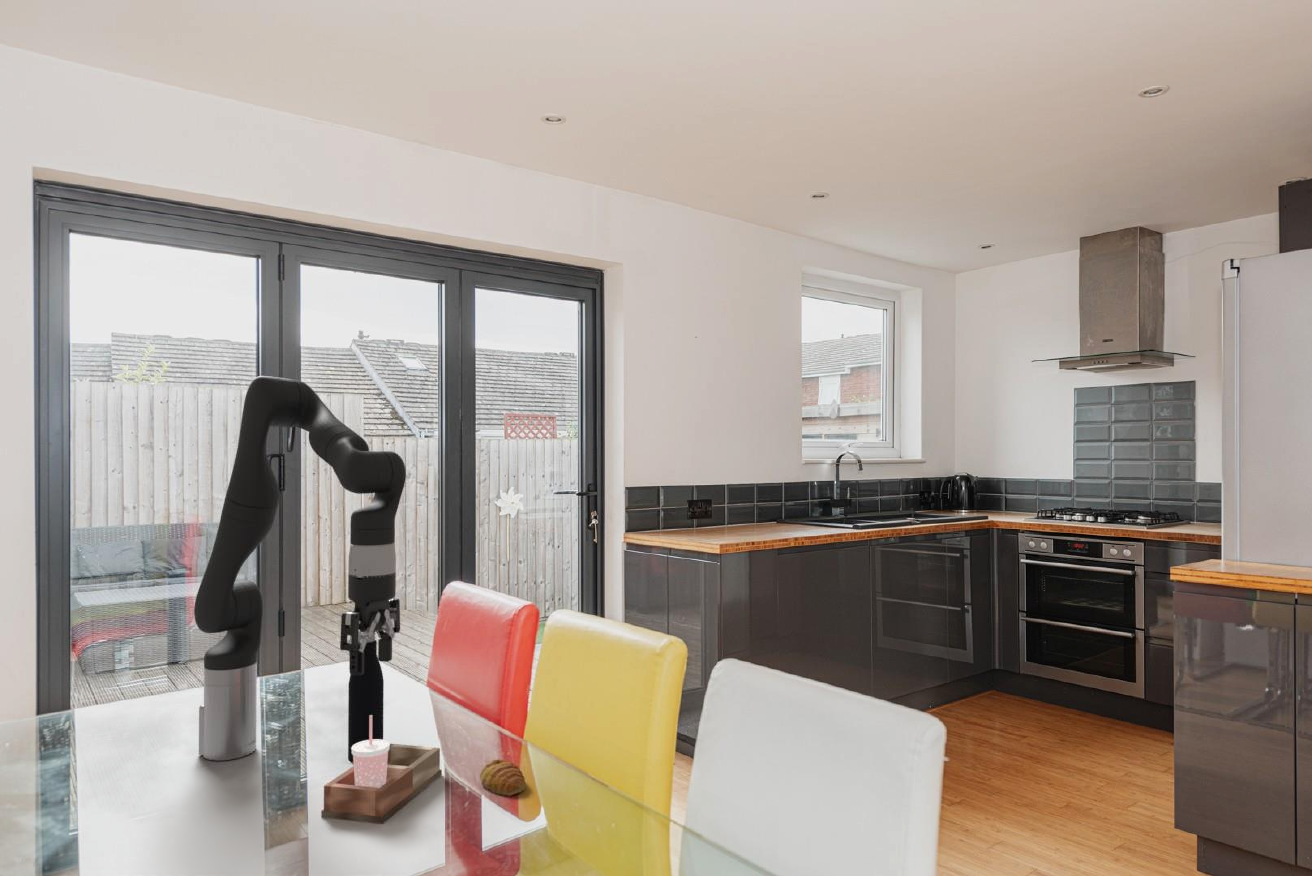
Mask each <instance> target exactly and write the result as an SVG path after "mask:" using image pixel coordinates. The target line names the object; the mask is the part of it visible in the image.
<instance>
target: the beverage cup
mask: <svg viewBox="0 0 1312 876" xmlns="http://www.w3.org/2000/svg"><path fill="white" fill-rule="evenodd" d="M390 744H391V743H390V741H389V740H385V739H383V740H382V739H372V715H369V740H365V741H361V742H358V743H356V744H354V745H353V746H352V748H351V750H352V752H351V753H352V754H353V761H354V762H353V766H354V778H355V785H356V786H366V787H375V788H380V787H381V786H383V785H384V784H385V783H386V775H387V760H388V751H389V749H390V747H389V746H390Z"/></svg>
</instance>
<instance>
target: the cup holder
mask: <svg viewBox="0 0 1312 876" xmlns="http://www.w3.org/2000/svg"><path fill="white" fill-rule="evenodd" d="M389 747H390V749H389V751H388V760H387V775H386V783H385V784H384V785H383V786H381V787H380V788H375V787H366V786H356V785H355V778H354V765H353V766H351V767H350V768H348V769H347V770H346V771H344V772H343V773H340V774H339V775H338V776H337V777H335V778H334V779H331V780H330V781H329V782H327V783H326V784H324V785H323V809H321V813H320V814H321V815H320V816H321V818H326V819H336V820H345V821H352V822H353V821H354V822H364V823H372V824H381V825H383V824H384V823H386V822H387V821H388V820H389V819H391V818H392V817H393V816H394V815H396V814H397V813H398V812H399V811H400V810H401V809H403V808H404V807H405V806H406V805H408V804H409V803H410V802H411V801H413V800H414V799H415V798H416V797H417V796H419V795H420V794H421V793H422V792H423V791H425V790H426V789H427V788H428V787H429V786H431V785H432V784H433V783H434V782H435V781H437V780H438V779H439V778H441V777H442V774H443V769H441V759H440V758H441V757H440V756H441V753H440V752H441V748H440V747H432V746H423V745H422V746H421V745H411V744H409V745H408V744H401V743H400V744H399V743H390V746H389Z"/></svg>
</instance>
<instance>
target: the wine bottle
mask: <svg viewBox="0 0 1312 876" xmlns="http://www.w3.org/2000/svg"><path fill="white" fill-rule="evenodd" d="M359 632H361V631H360V630H359ZM376 634H377V632H374V633H373V634H372V637H371V638H370V639H369V640H367V642H366V645H365V648H364V650H363V652H364V673H363V674H362V675H351V674H350V673H349V680H348V705H347V707H348V710H347V711H348V712H347V713H348V715H347V716H348V718H347V719H348V720H347V722H348V725H347V727H348V728H347V729H348V731H347V732H348V734H347V759H348V761H349V762H351V763H354V761H353V754H352V753H351V752H352V750H351V748H352V746H353V745H354V744H356V743H358V742H361V741H365V740H369V715H372V739H382V740H384V682H385V681H384V680H385V679H384V675H383V674H384V673H383V671H382V666H381V662H380V661H379V660H378V653H377V650H378V648H377V647H378V646H377V643H378V642H377V640H376V638H377V637H376ZM360 640H361V639H358V644H359V642H360Z"/></svg>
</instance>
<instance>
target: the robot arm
mask: <svg viewBox="0 0 1312 876" xmlns="http://www.w3.org/2000/svg"><path fill="white" fill-rule="evenodd" d="M245 393H246V394H245V398H244V402H243V407H242V408H243V409H242V416H241V421H240V429H239V436H238V443H237V448H236V454H235V458H234V463H233V467H232V471H231V475H230V479H229V483H228V486H227V489H226V492H225V493H226V494H225V497H224V501H223V505H222V510H221V515H220V519H219V525H218V528H217V532H216V537H215V540H214V543H213V547H212V549H211V550H212V551H211V553H210V557H209V560H208V563H207V565H206V568H205V571H204V573H203V576H202V579H201V582H200V585H199V587H198V590H197V594H196V597H195V601H194V606H193V607H194V610H193V613H194V614H193V615H194V622H195V624H196V626H197V628H198V629H199V630H200V631H201V632H203V633H205V634H217V633H223V632H226V634H225V636H224V637H223V638H222V639H221V640H220V641H219V642H218V643H216V644H215V645H213V646H212V647H211V648H209V649H208V650H207V651H206V652H205V654H204V658H203V704H201V705H200V706H199V708H198V756H199V755H203V756H202V758H204V759H205V760H209V761H218V762H219V761H220V762H221V761H229V760H230V761H231V760H235V759H240V758H242V757H245V755H246V756H248V755H250V753H251V754H252V753H254V752H255V751H256V750H255V749H257V704H258V703H257V696H258V695H257V694H258V693H257V690H258V689H257V688H258V687H257V684H258V676H257V672H258V670H257V668H258V667H257V665H258V662H257V661H258V652H259V650H260V647H261V643H262V642H261V641H262V627H263V614H264V613H263V609H264V608H263V607H264V606H263V597H262V592H261V590H260V588H259V586H258V585H257V584H256V583H255V582H253V581H251V580H248V579H246V580H245V579H242V580H236V579H237V576H238V574H239V572H240V570H241V569H242V566H243V565H244V564H245V562H246V561H247V560H248V558H249V557H251V555H252V554H253V552H254V551H255V550H256V549H257V548H258V547H259V545H260V544H261V543H262V542H263V540H265V538H266V537H267V535H268V534H269V532H270V531H271V529H272V528H273V525H274V521H275V517H276V515H277V509H278V505H279V502H280V496H281V495H280V494H281V492H280V488H279V484H278V480H277V478H276V475H275V473H274V472H273V469H272V467H271V464H270V462H269V459H268V455H267V442H268V441H267V438H268V433H269V431H270V430H269V429H270V428H271V427H276V428H277V427H279V428H299V429H301V430H304V431H306V432H308V442H309V445H310V447H311V449H312V451H313V452H314V453H315V454H316V455H317V456H318V457H319V458H320V459H322V461H324V462H325V463H326V464H328V465H329V466H330V467H332V470H333V472H334V473H335V475H336V477H337V479H338V481H339V483H340V485H341V487H343V489H344V490H346V491H348V492H351V493H353V494H358V495H361V494H373V497H372V499H371V502H370V503H369V504H368V505H366V506H364V507H360V508H358V509H354V511H352V513H351V515H350V525H349V526H350V535H349V536H350V541H349V543H350V546H349V551H348V552H349V553H348V554H349V555H348V563H347V564H348V568H347V570H348V574H347V575H348V578H347V581H348V583H347V584H348V585H347V591H348V592H347V598H348V600H350V601H351V602H353V603H354V609H353V611H351V612H350V611H348V612H346V611H345V612H344V611H343V612H342V614H341V618H340V619H341V621H340V639H339V640H340V641H339V648H340V651H347V652H348V654H349V659H348V661H349V665H348V666H349V668H348V669H349V675H350V674H351V675H362V674H363V673H364V652H363V650H364V648H365V645H366V642H367V640H369V639H370V638H371V637H372V634H373V633H374V632H375V633H376V634H377V636H378V638H379V639H378V642H377V643H378V646H377V647H378V648H377V650H378V653H377V657H378V660H379V662H385V663H386V662H387V663H388V662H391V661H392V659H393V639H394V638H395V635H396V634H397V633H398V634H399V633H400V631H401V611H400V610H401V608H400V606H401V605H400V603H401V601H400V599H399V598H395V597H396V594H397V593H396V591H397V590H396V581H397V580H396V579H397V576H396V575H397V574H396V573H397V571H396V570H397V556H396V547H395V546H396V545H395V541H396V539H395V535H396V533H395V531H396V530H395V528H396V527H395V526H396V525H395V524H396V522H395V520H396V516H397V512H398V509H399V505H400V502H401V497H402V495H403V491H404V488H405V483H406V477H407V470H406V465H405V463H404V460H403V458H402V457H401V456H400V455H399V454H398V452H397V453H396V452H395V451H388V450H386V451H385V450H384V451H382V450H381V451H379V450H378V451H377V450H376V451H375V450H374V451H370V448H369V445H368V443H367V442H366V440H365V439H364V438H363V437H362V436H361V435H360V434H358V433H356V432H355V430H352V429H351V428H350V427H348V426H347V425H345V424H344V423H343V422H342V421H341V420H339V419H338V418H337V417H336V416H335V415H334V414H333V412H332V410H330V409H329V407H328V406H327V405H326V404H325V403H324V402H323V401H322V399H321V398H320V396H318V394H317V393H316V392H315V391H314V389H313V388H312V387H311V386H309V385H308V384H307V383H305V382H303V381H302V380H298V379H292V378H285V377H277V376H276V377H275V376H269V375H268V376H267V375H259V376H256V377H255V378H253V379H252V381H251V382H250V384H249V385H248V388H247V391H246V392H245ZM392 620H393V621H392ZM359 631H361V632H359ZM348 636H350V638H349V640H348ZM358 639H361V640H360V642H359V644H358ZM253 751H254V752H253Z"/></svg>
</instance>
